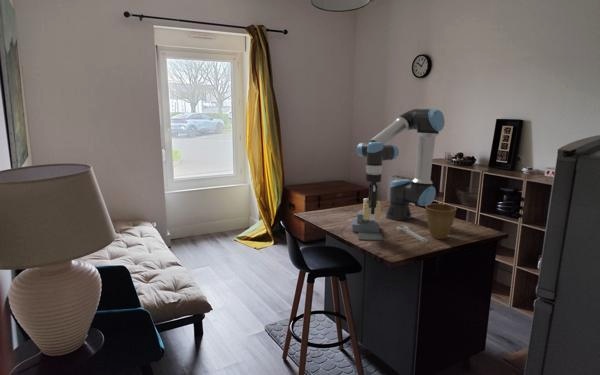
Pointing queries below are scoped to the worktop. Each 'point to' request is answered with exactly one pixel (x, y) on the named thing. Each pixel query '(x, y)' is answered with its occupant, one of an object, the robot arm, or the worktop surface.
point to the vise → (364, 224)
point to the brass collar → (367, 210)
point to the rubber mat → (370, 236)
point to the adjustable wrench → (411, 233)
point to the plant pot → (440, 219)
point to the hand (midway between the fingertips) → (371, 217)
